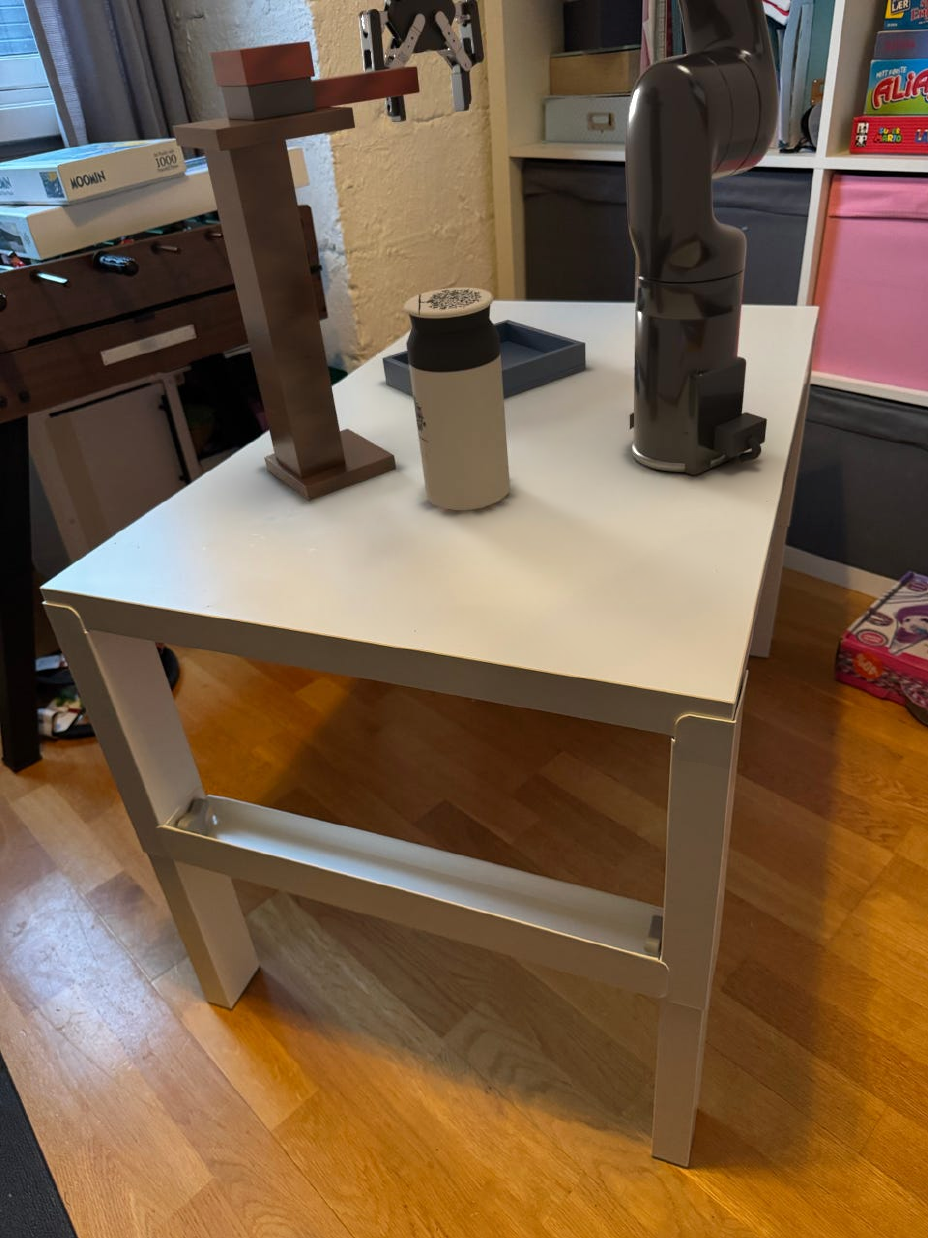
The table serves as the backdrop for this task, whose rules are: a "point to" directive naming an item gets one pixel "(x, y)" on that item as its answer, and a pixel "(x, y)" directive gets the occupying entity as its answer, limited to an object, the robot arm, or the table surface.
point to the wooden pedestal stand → (282, 296)
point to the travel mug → (458, 397)
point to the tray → (513, 359)
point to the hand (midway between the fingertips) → (431, 115)
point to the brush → (296, 82)
